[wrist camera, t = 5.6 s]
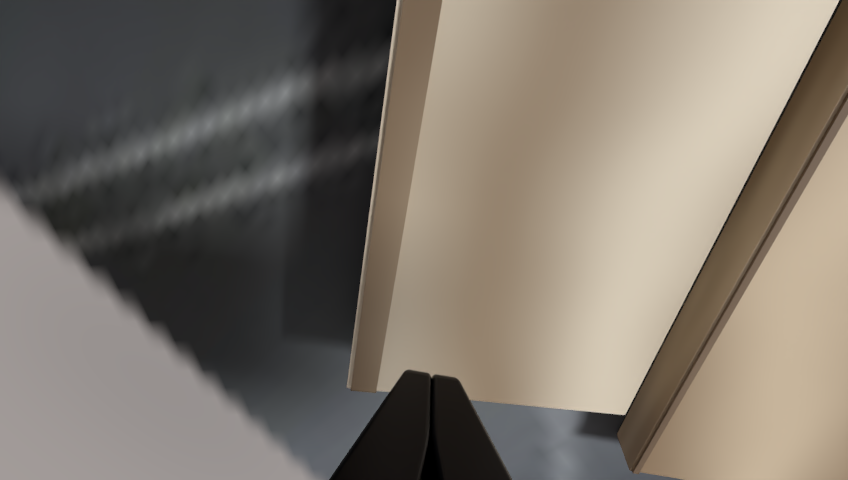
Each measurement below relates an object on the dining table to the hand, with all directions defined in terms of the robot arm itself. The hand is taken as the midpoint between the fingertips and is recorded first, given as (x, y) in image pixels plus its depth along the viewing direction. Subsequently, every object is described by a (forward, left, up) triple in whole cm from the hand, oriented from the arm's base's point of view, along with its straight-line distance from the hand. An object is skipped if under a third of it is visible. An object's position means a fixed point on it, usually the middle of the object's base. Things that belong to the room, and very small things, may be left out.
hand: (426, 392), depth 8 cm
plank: (-2, -5, -4) cm, 7 cm away
